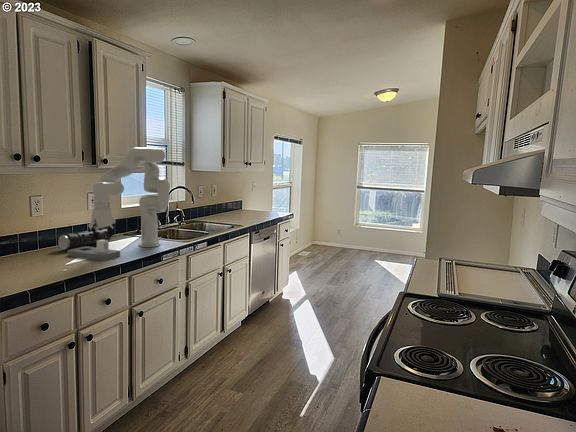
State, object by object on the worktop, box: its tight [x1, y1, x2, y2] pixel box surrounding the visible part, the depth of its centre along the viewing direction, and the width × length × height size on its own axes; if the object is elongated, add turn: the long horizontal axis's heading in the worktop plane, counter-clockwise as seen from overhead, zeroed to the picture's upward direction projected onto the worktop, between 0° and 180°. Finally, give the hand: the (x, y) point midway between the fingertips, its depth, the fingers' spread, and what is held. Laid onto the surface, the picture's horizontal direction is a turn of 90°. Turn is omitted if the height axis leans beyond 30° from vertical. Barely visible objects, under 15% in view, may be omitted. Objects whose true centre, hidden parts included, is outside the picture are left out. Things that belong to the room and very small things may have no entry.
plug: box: [96, 240, 110, 253], centre depth 204 cm, size 4×5×9 cm
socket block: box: [66, 246, 121, 262], centre depth 206 cm, size 12×24×4 cm, turn 70°
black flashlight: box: [57, 228, 112, 251], centre depth 226 cm, size 10×28×10 cm, turn 154°
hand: (103, 237), depth 204 cm, fingers open, 9 cm apart
